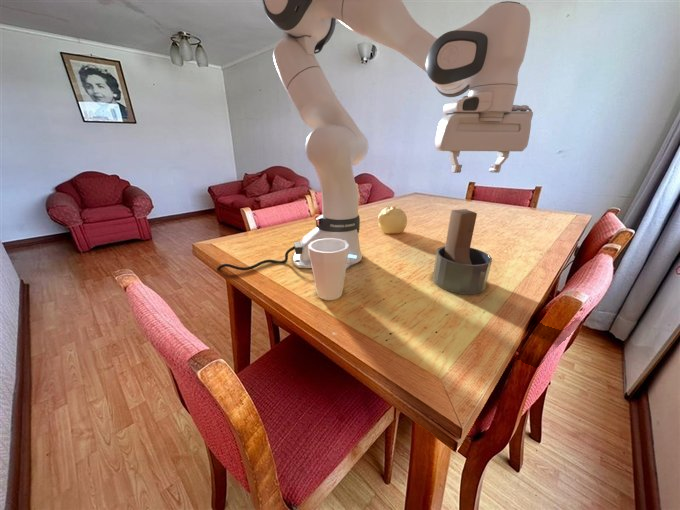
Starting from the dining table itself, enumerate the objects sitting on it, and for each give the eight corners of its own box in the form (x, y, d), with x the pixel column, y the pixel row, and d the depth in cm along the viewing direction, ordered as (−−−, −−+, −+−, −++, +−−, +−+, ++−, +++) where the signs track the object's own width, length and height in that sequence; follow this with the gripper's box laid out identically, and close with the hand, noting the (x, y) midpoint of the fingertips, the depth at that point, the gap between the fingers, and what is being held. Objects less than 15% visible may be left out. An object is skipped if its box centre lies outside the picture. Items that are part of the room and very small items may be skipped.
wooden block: (475, 285, 68) (491, 217, 61) (460, 287, 67) (474, 218, 60) (454, 270, 76) (466, 208, 69) (440, 272, 75) (450, 209, 68)
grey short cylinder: (496, 293, 66) (503, 264, 63) (446, 296, 65) (451, 266, 62) (461, 264, 81) (466, 240, 78) (420, 266, 80) (423, 242, 77)
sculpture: (379, 226, 118) (380, 202, 113) (407, 229, 114) (409, 204, 110) (374, 234, 108) (375, 208, 103) (404, 237, 104) (407, 210, 100)
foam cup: (347, 283, 71) (347, 238, 66) (349, 303, 62) (350, 252, 57) (312, 284, 70) (309, 238, 65) (309, 304, 62) (306, 253, 57)
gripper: (523, 107, 59) (507, 170, 65) (436, 105, 58) (427, 171, 63) (546, 103, 54) (526, 174, 59) (450, 101, 52) (439, 174, 57)
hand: (475, 172), depth 61 cm, fingers open, 8 cm apart
